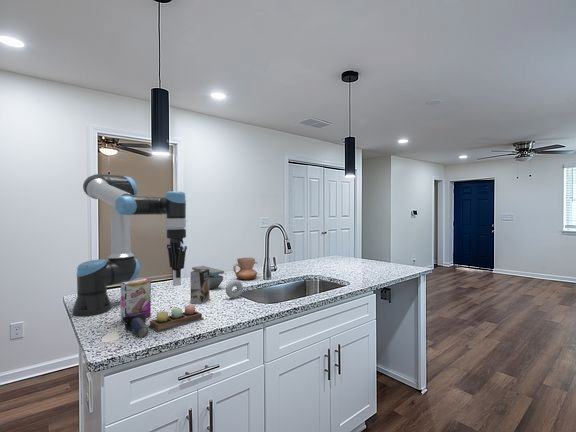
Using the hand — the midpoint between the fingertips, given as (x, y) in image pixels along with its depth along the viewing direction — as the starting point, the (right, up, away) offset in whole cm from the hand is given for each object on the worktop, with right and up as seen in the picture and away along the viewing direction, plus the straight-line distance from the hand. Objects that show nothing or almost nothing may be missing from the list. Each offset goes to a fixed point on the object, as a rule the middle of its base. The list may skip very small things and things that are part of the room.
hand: (177, 285), depth 130 cm
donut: (+18, -16, +37) cm, 44 cm away
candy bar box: (-20, -16, +6) cm, 26 cm away
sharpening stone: (-4, -15, +63) cm, 65 cm away
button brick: (+4, -13, +4) cm, 14 cm away
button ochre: (-4, -13, -4) cm, 14 cm away
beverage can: (-11, -17, -10) cm, 22 cm away
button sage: (0, -13, 0) cm, 13 cm away
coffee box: (+1, -16, +32) cm, 35 cm away
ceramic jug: (+17, -15, +85) cm, 88 cm away
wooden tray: (0, -16, 0) cm, 16 cm away
